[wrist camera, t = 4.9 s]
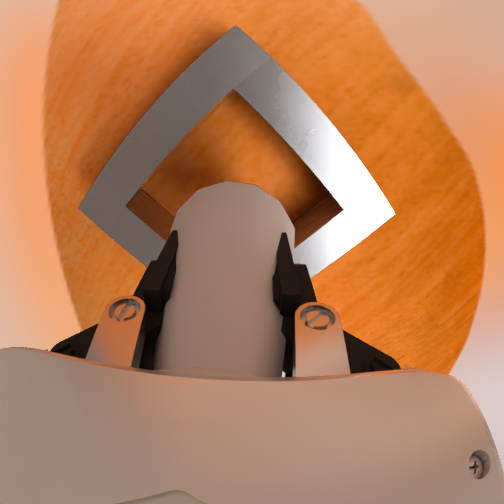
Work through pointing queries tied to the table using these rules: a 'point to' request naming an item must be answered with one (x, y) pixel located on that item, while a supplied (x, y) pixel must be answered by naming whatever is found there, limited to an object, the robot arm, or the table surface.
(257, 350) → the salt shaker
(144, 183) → the grey square frame
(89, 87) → the table surface
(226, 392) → the robot arm
